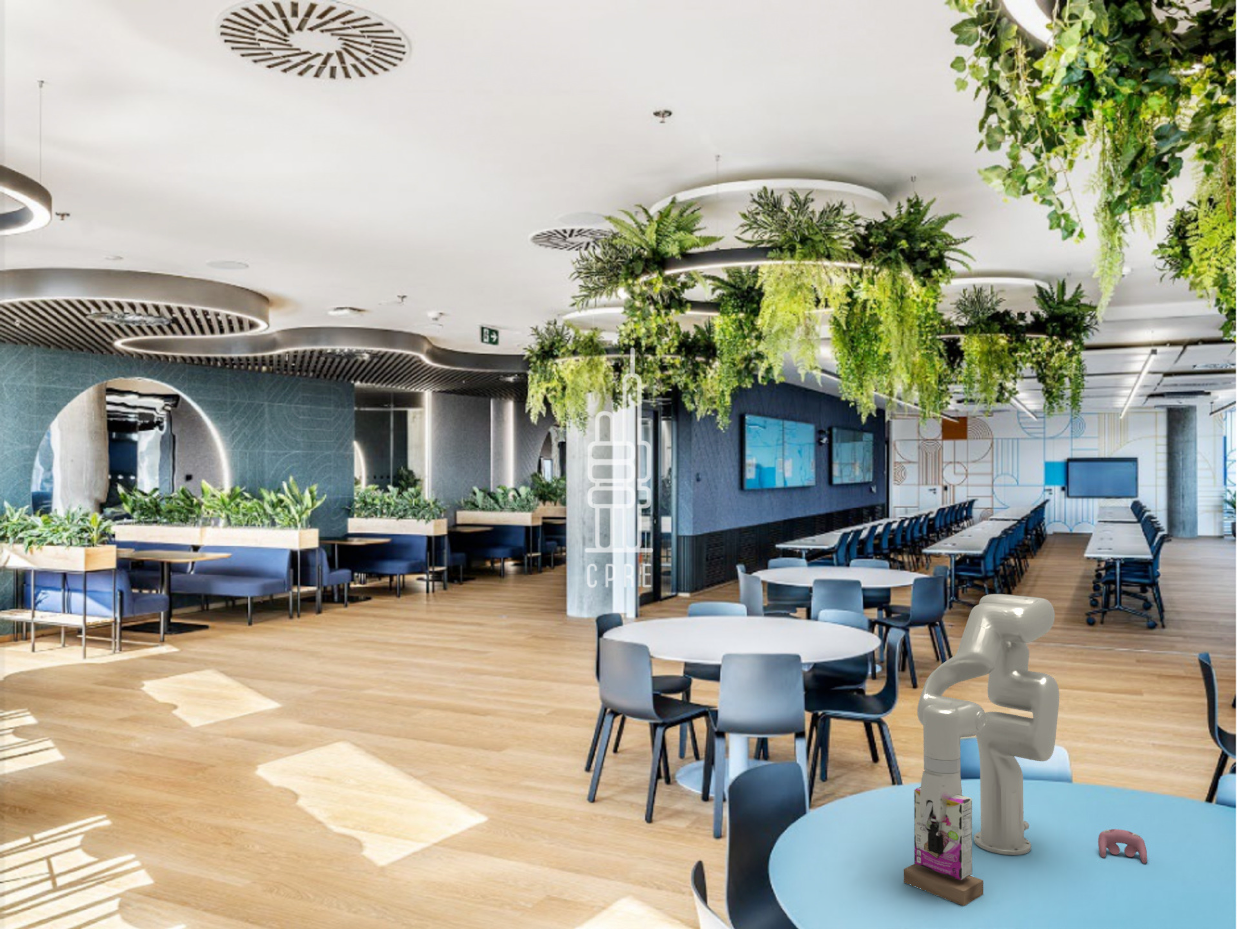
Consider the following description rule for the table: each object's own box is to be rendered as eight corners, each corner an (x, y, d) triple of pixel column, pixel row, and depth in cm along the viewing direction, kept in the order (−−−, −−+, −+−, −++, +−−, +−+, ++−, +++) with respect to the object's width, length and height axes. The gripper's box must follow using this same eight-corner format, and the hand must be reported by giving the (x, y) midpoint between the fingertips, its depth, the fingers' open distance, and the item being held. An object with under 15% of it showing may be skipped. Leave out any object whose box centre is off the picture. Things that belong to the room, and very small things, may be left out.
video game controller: (1146, 865, 207) (1143, 833, 210) (1148, 863, 203) (1146, 831, 206) (1098, 858, 211) (1096, 827, 214) (1099, 856, 207) (1097, 824, 210)
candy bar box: (913, 864, 195) (912, 788, 195) (925, 858, 198) (924, 783, 198) (961, 881, 186) (961, 802, 187) (973, 874, 190) (972, 797, 190)
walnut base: (923, 872, 200) (923, 858, 200) (983, 894, 189) (983, 880, 189) (903, 882, 195) (903, 868, 195) (963, 906, 184) (963, 891, 184)
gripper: (946, 752, 201) (947, 833, 201) (904, 767, 190) (905, 854, 190) (978, 760, 195) (979, 843, 195) (936, 776, 184) (937, 865, 184)
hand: (942, 847), depth 192 cm, fingers closed on candy bar box, 5 cm apart
